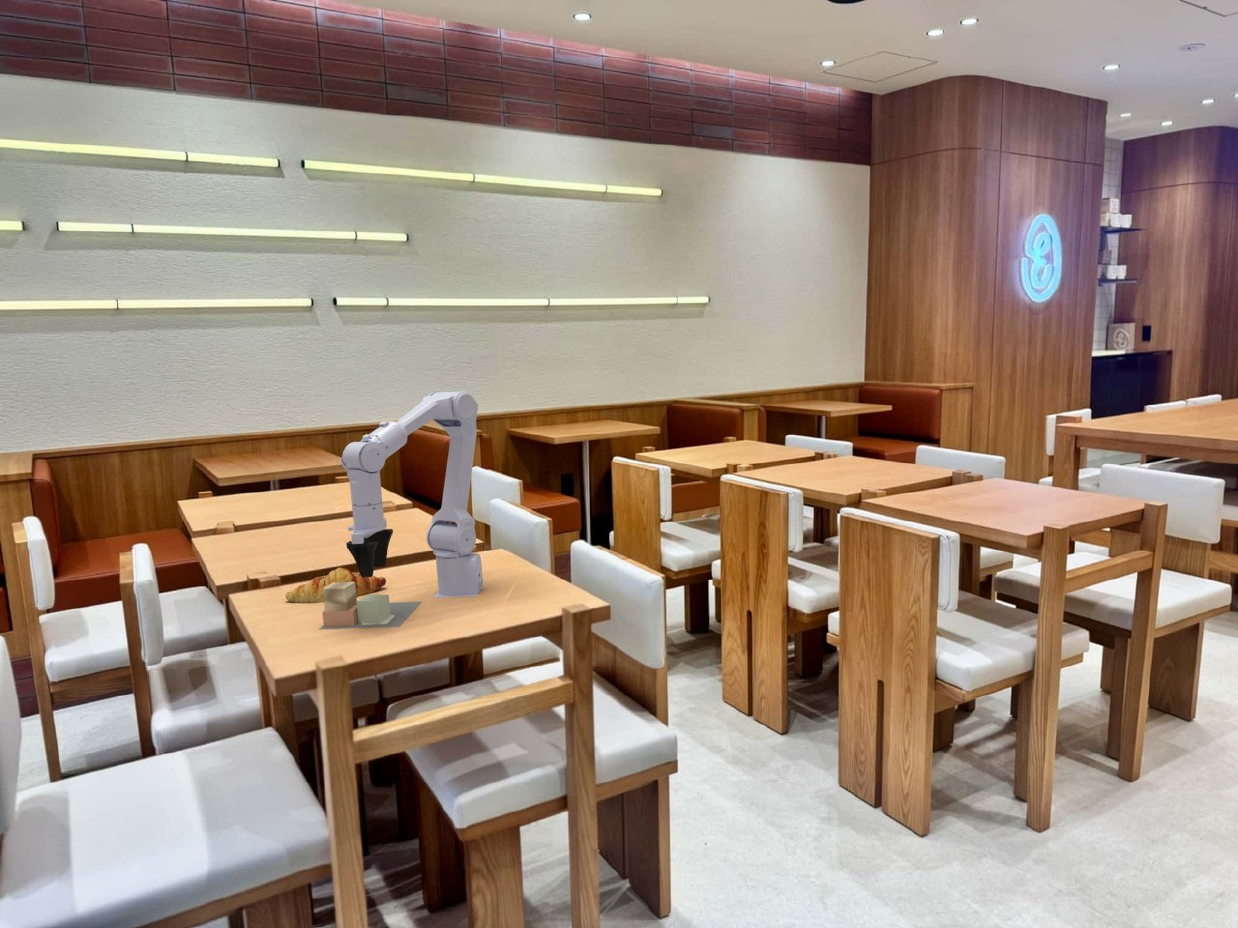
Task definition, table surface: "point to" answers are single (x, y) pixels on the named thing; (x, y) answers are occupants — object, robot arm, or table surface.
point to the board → (398, 617)
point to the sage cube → (373, 609)
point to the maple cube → (339, 596)
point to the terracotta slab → (340, 617)
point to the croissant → (314, 589)
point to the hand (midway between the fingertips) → (373, 571)
